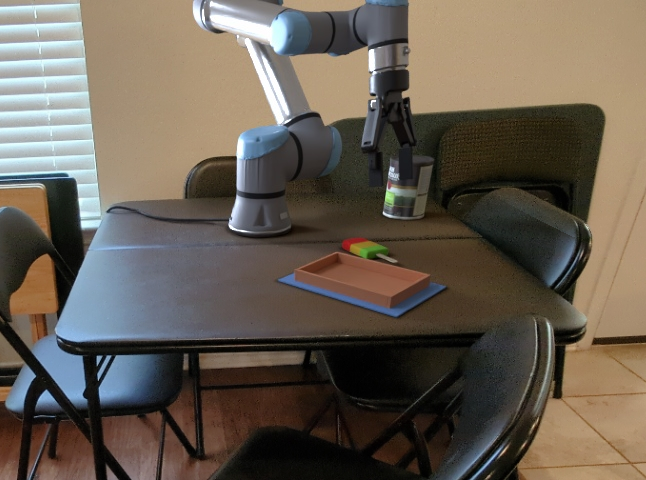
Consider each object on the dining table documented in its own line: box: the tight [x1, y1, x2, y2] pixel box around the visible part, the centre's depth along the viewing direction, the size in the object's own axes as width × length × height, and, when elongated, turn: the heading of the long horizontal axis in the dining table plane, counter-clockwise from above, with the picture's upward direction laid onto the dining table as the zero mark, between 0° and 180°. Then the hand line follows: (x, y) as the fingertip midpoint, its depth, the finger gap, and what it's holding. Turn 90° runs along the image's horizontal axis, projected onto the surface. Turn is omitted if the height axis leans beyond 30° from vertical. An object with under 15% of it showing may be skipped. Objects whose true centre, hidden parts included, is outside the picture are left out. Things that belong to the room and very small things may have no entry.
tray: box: [294, 251, 432, 309], centre depth 111 cm, size 20×14×2 cm
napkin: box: [277, 272, 447, 318], centre depth 111 cm, size 25×18×1 cm
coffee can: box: [382, 154, 435, 221], centre depth 149 cm, size 10×10×14 cm
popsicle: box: [341, 237, 399, 264], centre depth 125 cm, size 6×15×2 cm, turn 23°
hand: (391, 183), depth 122 cm, fingers open, 13 cm apart
